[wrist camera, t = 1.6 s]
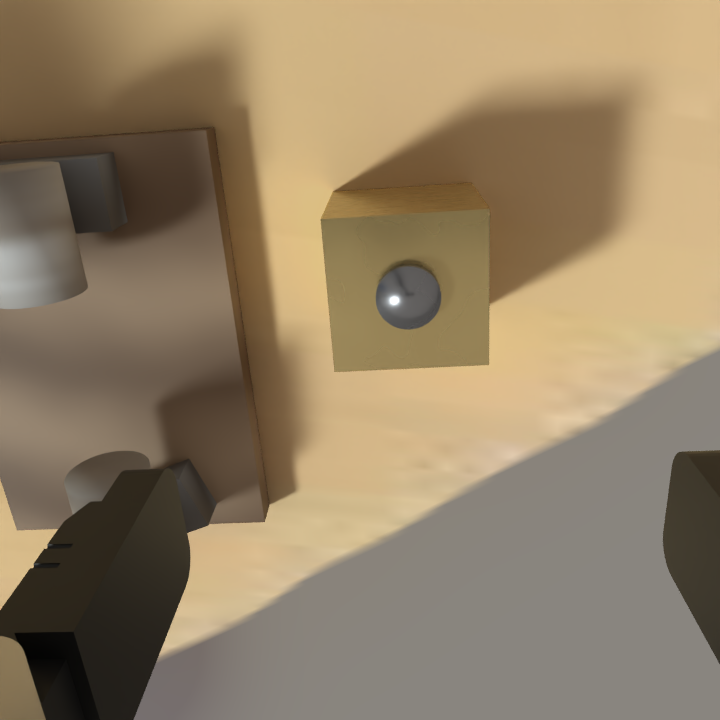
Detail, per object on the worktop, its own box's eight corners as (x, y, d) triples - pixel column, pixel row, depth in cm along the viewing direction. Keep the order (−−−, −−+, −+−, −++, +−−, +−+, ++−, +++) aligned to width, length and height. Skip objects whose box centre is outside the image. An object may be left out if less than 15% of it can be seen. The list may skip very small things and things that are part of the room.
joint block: (333, 191, 25) (319, 222, 20) (471, 182, 25) (491, 211, 20) (343, 319, 27) (333, 377, 22) (471, 313, 27) (490, 370, 22)
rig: (-84, 148, 25) (-210, 170, 20) (214, 127, 24) (165, 144, 19) (32, 522, 31) (-39, 613, 26) (270, 514, 31) (245, 606, 25)
